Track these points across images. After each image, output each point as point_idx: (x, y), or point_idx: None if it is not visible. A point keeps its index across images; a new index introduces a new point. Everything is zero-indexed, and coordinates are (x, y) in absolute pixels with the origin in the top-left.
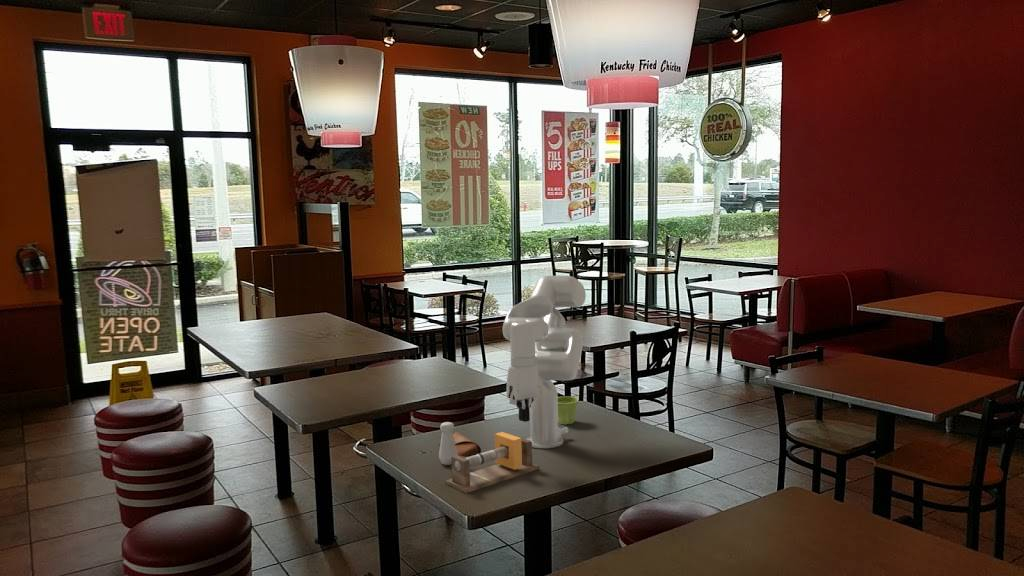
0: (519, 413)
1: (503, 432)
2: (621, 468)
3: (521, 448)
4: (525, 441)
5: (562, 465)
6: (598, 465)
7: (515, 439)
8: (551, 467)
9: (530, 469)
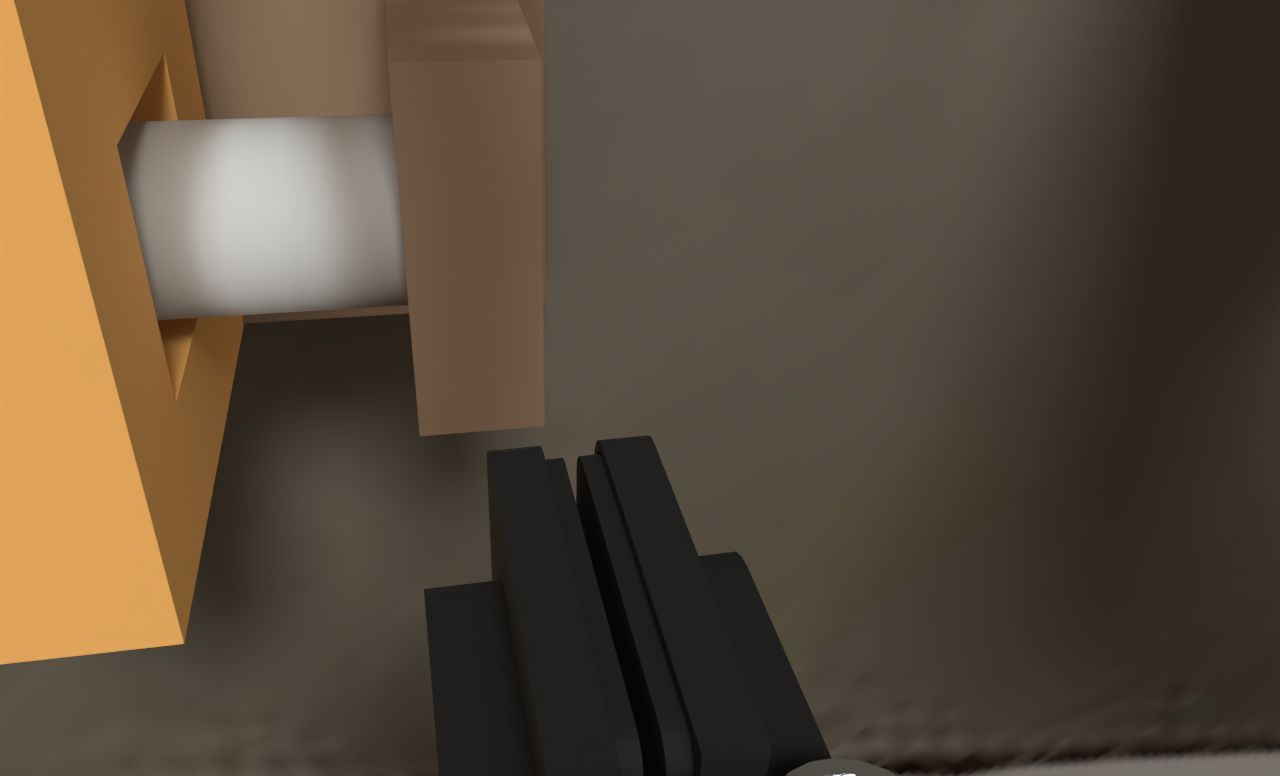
0: (436, 723)
1: (18, 81)
2: (1053, 687)
3: (207, 505)
4: (438, 379)
5: (812, 363)
6: (1018, 554)
7: (27, 641)
8: (680, 336)
9: (386, 308)
